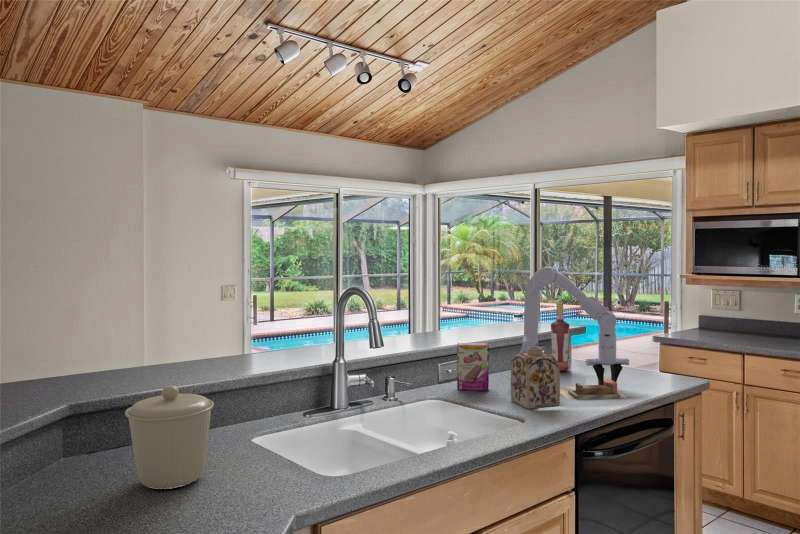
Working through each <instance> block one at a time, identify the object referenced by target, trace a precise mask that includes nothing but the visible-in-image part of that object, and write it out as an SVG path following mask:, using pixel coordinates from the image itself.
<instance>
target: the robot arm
mask: <svg viewBox="0 0 800 534" xmlns="http://www.w3.org/2000/svg"><path fill="white" fill-rule="evenodd" d="M551 284H553V285H552V286H554V287H559V288H561V289H564V290H565V291H566V292H567V293H568V294H569V295H571V296H572V297H573V298H574V299H575V300H577V301H578V302H579V303H580V304H579V305H580V306H579V307H580V309H581V310H583V312H585V314H587V315H588V316H589V317H591V319H593V320H594V321H597V324H598V326H599V327H598V330H599V332H598V357H597V358H585V366H587V367H589V366H592V368H593V370H594V372H595V374H596V376H597V382H598V381H599V385H604V378H605V376H604V375H605V367H604V366H609V367H610V379H611V380H613V381H614V382H616V383H617V381H618V378H619V377H620V374H621V372H622V370H623V366H630V359H628V358H619V357H617V333H616V332H617V328H616V325H617V316H616V315H615V313H614V312H613V311H611V310H610V308H609V307H607V306H606V307H605V306H604V304H602V303H601V302H600V301H599V298H598V297H597V296H593V295H586V294H585V293H584V292H583V291H582V289H580V288H579V287H578V286H577V285H576V284H575V283H573V281H572V280H570V279H569V278H568V277H567V276H566V275H565V274H563V273H562V272H560V271H559V270H557V269H556V268H555V267H553V266H549V265H547V266H544V267H541V268H539V269H538V270H536V271H535V272H534V273H533V275H532V277H531V278H530V279H529V280H528V282H527V283H526V285H525V287H524V319H523V338H522V344H521V346H522V347H521V348H520V350H519V353H522V352H527V350H528V348H532V347H539V348H541V347H540V346H539V336H538V331H539V328H538V326H539V324H538V323H539V293H540V292H541V291H542V290H543V289H544V288H545V287H547V286H549V285H551Z"/></svg>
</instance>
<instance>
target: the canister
mask: <svg viewBox="0 0 800 534" xmlns="http://www.w3.org/2000/svg"><path fill="white" fill-rule="evenodd" d="M179 392H180V390H179V388H178V387H177V386H176V385H166V386H165V387H163V388H162V389H161V395H157V396H153V397H148V398H144V399H141V400H139V401H137V402H135V403H134V404H132V406H130V407H128V408H127V409H126V410H125V411H124V414H125V415H124V416H125V417H127V418H128V422H129V431H130V436H131V444H132V451H133V455H134V458H133V459H134V463H135V467H136V473H137V478H138V480H139V482H140V484H141V485H142V486H143V485H145V486H147V487H153V488H167V487H175V486H180V485H185V484H188V483H190V482H193V481H195V480H197V479H198V478H199V479H200V478H201V477H202V476H203V474H204V471H205V468H206V463H207V457H208V448H209V446H208V445H209V435H210V424H211V415H212V414H211V413H212V409H213V408H214V406H215V403H214V401H213V400H212V399H209V398H207V397H206V396H204V395H200V394H196V393H179ZM199 479H198V480H199ZM198 480H197V481H198ZM145 486H144V487H145Z"/></svg>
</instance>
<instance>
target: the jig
mask: <svg viewBox="0 0 800 534" xmlns="http://www.w3.org/2000/svg"><path fill="white" fill-rule="evenodd" d="M561 395H562V397H564V398H565V399H566V400H590V399H591V400H599V399H601V400H602V399H629V397H628V396H626V395H624V394H623V393H622V392H620V391H618V390H617V392H614V391H613V394H605V395H577V394H576V386H560V396H561Z"/></svg>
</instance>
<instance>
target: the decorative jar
mask: <svg viewBox="0 0 800 534" xmlns="http://www.w3.org/2000/svg"><path fill="white" fill-rule="evenodd" d="M539 347H540V346H539ZM539 347H532V348H528V350H527V352H522V353H520V352H519V353H517V354H516V355H515V356H514V357H513V358H512V360H511V361H510V397H511V398H510V401H511V402H513V403H515V404H517V405H520V406H521V407H523V408H525V409H527V410H533V409H543V408H545V409H546V408H552V407H556V408H557V407H560V405H559V404H560V403H561V394H560V387H561V383H560V381H561V379H560V376H561V375H560V373H561V372H560V368H559V367H560V366H559V364H558V362H557V360H556V359H555V357H554V356H553V355H552V353H551V354H550V353H547V352H543V348H542V347H540V348H539ZM547 404H548V405H547ZM550 404H554V405H550ZM555 404H558V405H555Z"/></svg>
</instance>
